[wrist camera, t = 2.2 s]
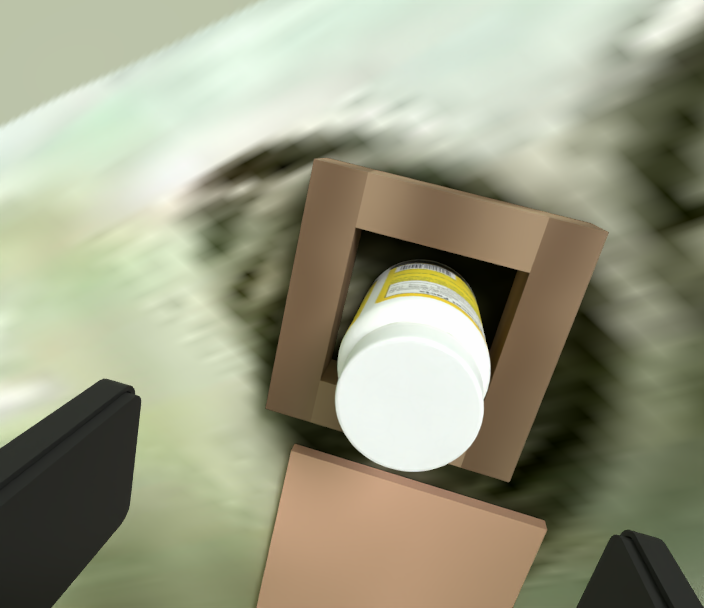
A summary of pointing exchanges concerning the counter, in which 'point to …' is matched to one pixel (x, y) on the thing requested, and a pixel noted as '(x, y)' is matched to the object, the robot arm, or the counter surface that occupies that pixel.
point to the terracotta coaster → (390, 542)
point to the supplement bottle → (414, 368)
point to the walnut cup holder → (449, 235)
